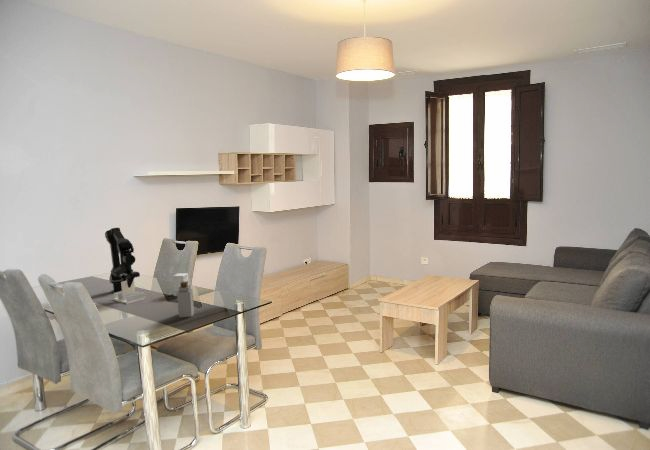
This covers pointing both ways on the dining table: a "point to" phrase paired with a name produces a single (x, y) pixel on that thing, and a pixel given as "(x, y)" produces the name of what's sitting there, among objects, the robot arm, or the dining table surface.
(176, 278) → the supplement box
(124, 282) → the cream rectangular tile
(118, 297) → the rack
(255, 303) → the dining table surface
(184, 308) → the perfume bottle
